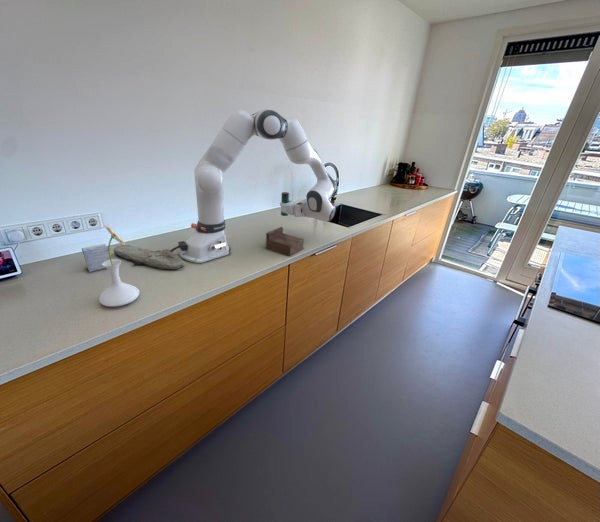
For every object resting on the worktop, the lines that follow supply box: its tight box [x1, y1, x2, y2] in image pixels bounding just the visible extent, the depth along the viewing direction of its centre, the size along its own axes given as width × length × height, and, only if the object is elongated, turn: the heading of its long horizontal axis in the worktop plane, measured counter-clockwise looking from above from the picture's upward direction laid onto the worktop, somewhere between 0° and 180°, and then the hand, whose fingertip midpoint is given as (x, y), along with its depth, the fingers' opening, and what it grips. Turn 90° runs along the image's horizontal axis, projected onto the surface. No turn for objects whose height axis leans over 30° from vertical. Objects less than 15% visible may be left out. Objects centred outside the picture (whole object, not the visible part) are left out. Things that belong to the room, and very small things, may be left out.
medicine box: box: [81, 243, 110, 273], centre depth 111 cm, size 8×4×9 cm, turn 135°
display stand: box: [265, 226, 304, 257], centre depth 140 cm, size 12×14×8 cm
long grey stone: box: [113, 244, 184, 270], centre depth 120 cm, size 35×5×10 cm
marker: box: [280, 191, 290, 217], centre depth 155 cm, size 4×4×12 cm
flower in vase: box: [98, 224, 140, 308], centre depth 90 cm, size 13×11×25 cm
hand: (283, 202), depth 155 cm, fingers closed on marker, 4 cm apart
